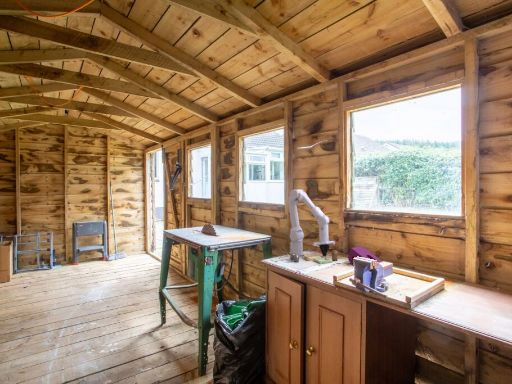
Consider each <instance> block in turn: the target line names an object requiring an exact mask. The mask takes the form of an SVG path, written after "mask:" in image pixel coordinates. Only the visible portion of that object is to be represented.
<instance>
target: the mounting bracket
mask: <svg viewBox="0 0 512 384" xmlns="http://www.w3.org/2000/svg"><path fill="white" fill-rule="evenodd" d="M357 256H359V257H365V258H370V259H374V260H377V261H378V262H383V260H381V259H380V258H379V257H377V256H376V255H374V254H373V253H372V252H370V251H369V250H368V249H366V248H365V247H364V246H362V245H360V246H353V247H351V248H350V250H349V252H348V255H347V259H348V261H349V263H350V264H351V265H353V258H354V257H357Z"/></svg>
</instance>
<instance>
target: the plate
mask: <svg viewBox="0 0 512 384" xmlns="http://www.w3.org/2000/svg"><path fill="white" fill-rule="evenodd" d="M302 256H303V259H304V260H306V261H308V262H315V261H314V258H322V257H321V256H320V255H318V254H314V253H313V254H305V255H302Z"/></svg>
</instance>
